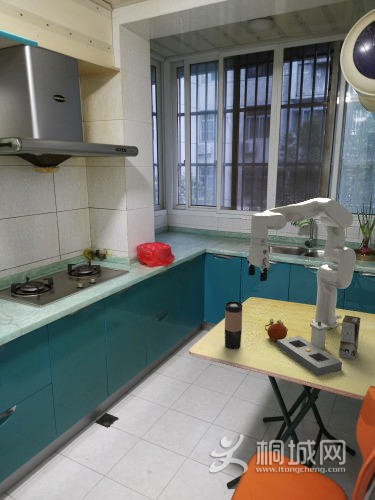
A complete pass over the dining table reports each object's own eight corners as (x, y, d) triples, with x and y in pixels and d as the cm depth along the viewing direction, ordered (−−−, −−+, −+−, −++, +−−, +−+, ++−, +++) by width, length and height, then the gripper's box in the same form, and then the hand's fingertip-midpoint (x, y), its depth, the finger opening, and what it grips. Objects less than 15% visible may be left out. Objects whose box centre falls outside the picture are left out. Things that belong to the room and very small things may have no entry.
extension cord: (293, 325, 189) (293, 322, 188) (282, 336, 176) (282, 333, 176) (271, 320, 195) (271, 317, 195) (259, 330, 183) (259, 326, 182)
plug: (318, 342, 169) (319, 318, 167) (326, 347, 164) (329, 323, 162) (308, 344, 167) (310, 320, 165) (317, 349, 162) (319, 325, 160)
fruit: (289, 339, 173) (291, 323, 171) (280, 345, 166) (281, 328, 165) (273, 333, 179) (274, 318, 177) (263, 339, 173) (264, 323, 171)
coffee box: (354, 360, 153) (358, 324, 150) (338, 356, 157) (341, 321, 153) (357, 351, 161) (361, 317, 157) (342, 347, 164) (345, 314, 161)
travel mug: (242, 343, 168) (244, 302, 164) (239, 350, 161) (240, 308, 157) (226, 340, 170) (227, 300, 166) (222, 348, 163) (223, 306, 159)
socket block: (298, 342, 169) (298, 334, 168) (341, 369, 146) (342, 361, 145) (277, 347, 164) (277, 339, 164) (318, 376, 141) (318, 367, 140)
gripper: (277, 244, 156) (275, 282, 160) (255, 237, 172) (254, 272, 175) (262, 245, 153) (261, 284, 157) (241, 238, 169) (240, 273, 173)
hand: (257, 277), depth 166 cm, fingers open, 9 cm apart
